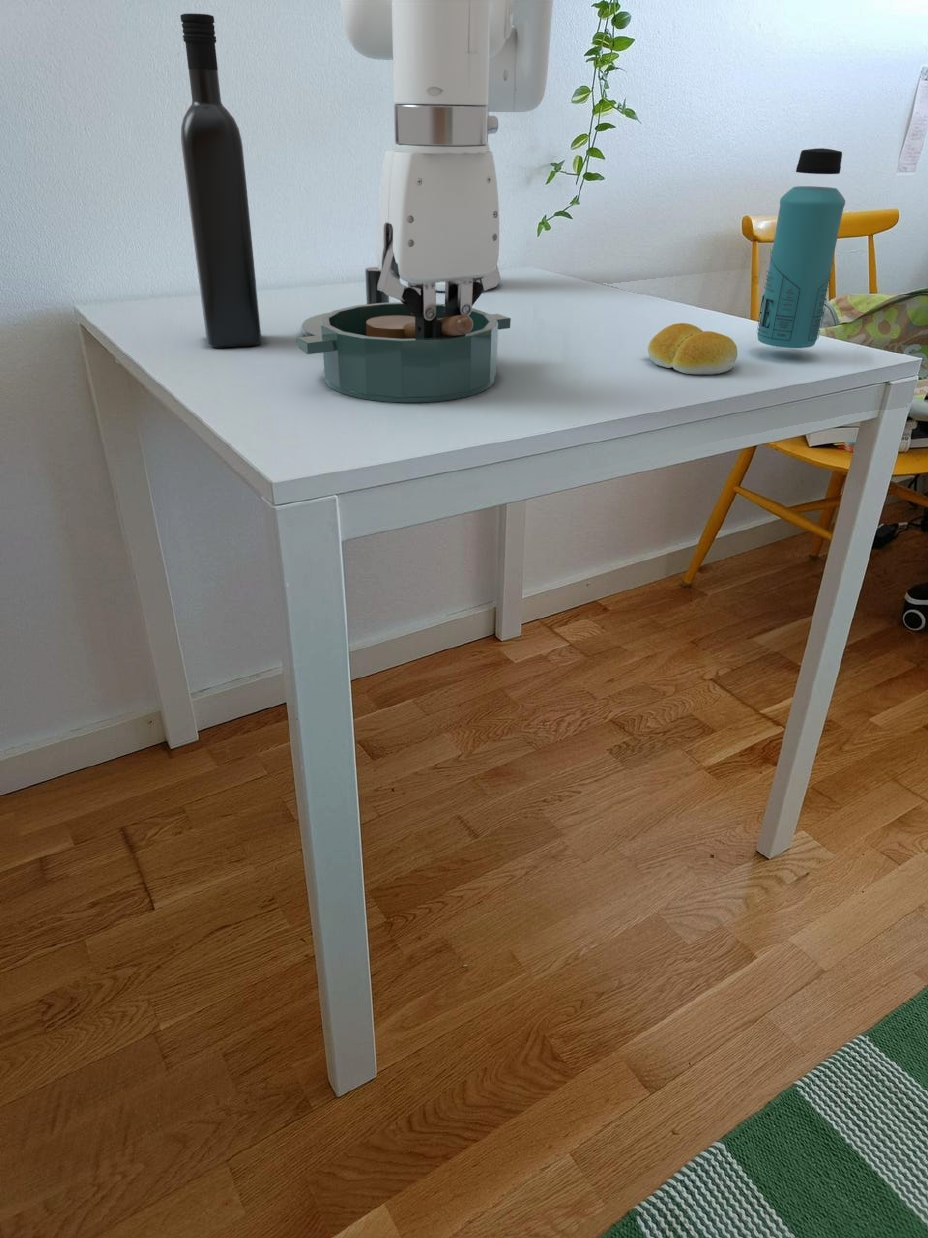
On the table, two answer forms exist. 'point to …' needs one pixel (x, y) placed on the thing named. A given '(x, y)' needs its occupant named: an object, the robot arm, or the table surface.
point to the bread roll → (692, 350)
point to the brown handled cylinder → (406, 326)
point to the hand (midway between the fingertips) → (440, 359)
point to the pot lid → (372, 297)
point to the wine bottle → (217, 198)
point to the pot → (404, 357)
